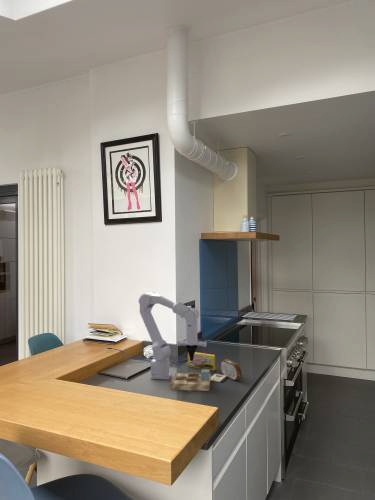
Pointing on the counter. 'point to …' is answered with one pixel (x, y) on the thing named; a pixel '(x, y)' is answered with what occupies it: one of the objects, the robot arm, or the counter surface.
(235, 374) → the tin
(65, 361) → the counter surface
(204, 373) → the block
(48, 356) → the counter surface
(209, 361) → the candy box
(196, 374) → the board
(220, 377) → the chocolate bar
